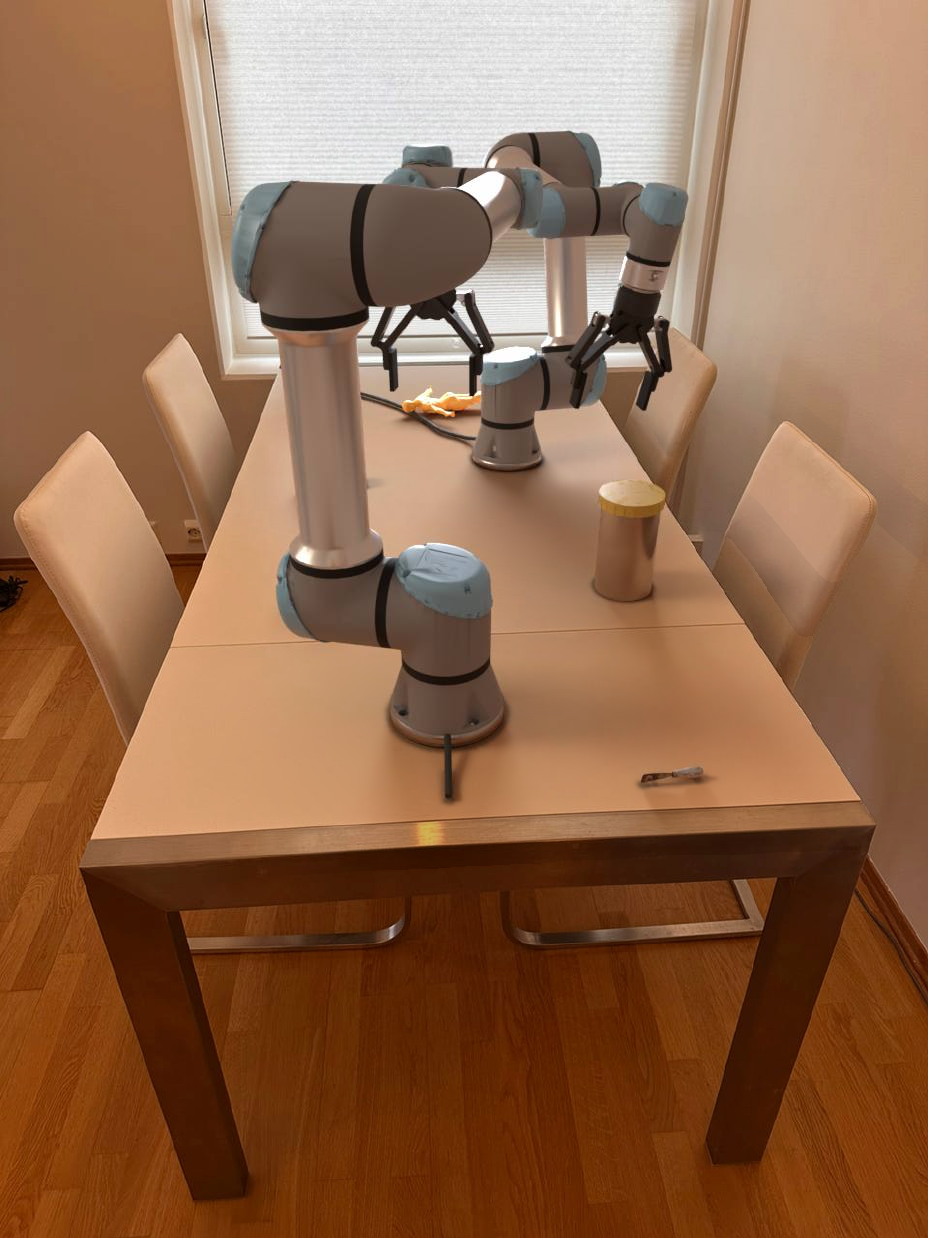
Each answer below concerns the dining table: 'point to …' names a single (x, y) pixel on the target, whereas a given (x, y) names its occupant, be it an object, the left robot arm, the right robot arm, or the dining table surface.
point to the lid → (631, 498)
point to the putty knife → (674, 774)
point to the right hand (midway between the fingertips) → (607, 406)
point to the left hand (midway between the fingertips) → (433, 391)
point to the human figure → (441, 403)
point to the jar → (625, 556)
